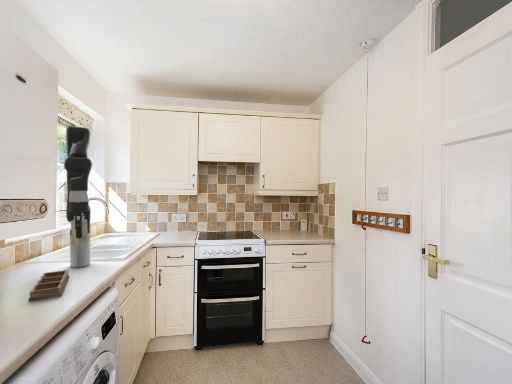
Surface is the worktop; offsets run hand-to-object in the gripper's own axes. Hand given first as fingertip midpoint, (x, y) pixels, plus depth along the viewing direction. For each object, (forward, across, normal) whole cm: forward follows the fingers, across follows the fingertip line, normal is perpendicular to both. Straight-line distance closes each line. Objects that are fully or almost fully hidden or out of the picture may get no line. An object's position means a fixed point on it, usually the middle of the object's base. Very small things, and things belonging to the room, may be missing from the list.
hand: (79, 236), depth 123 cm
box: (+3, 0, 0) cm, 3 cm away
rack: (+20, +6, -10) cm, 23 cm away
